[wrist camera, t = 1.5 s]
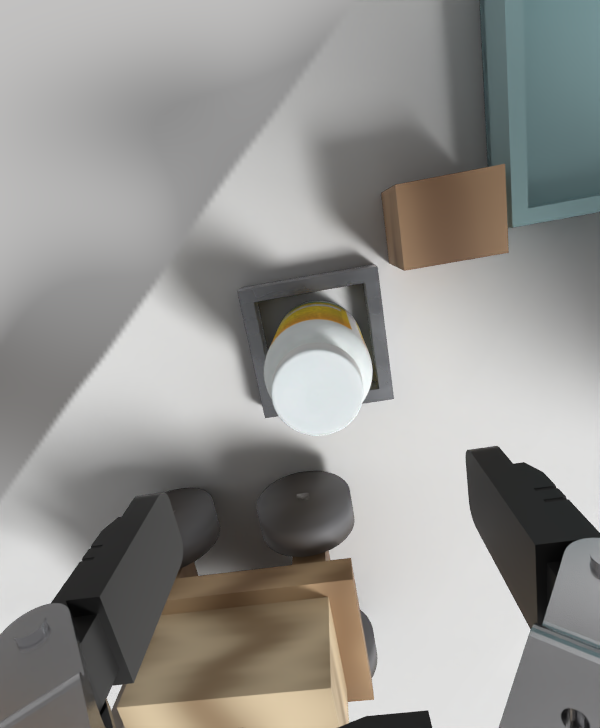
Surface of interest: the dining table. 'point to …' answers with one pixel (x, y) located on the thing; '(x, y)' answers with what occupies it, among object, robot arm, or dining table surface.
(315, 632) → the trolley
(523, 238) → the dining table surface
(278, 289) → the square frame
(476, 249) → the block
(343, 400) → the supplement bottle
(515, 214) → the tray
